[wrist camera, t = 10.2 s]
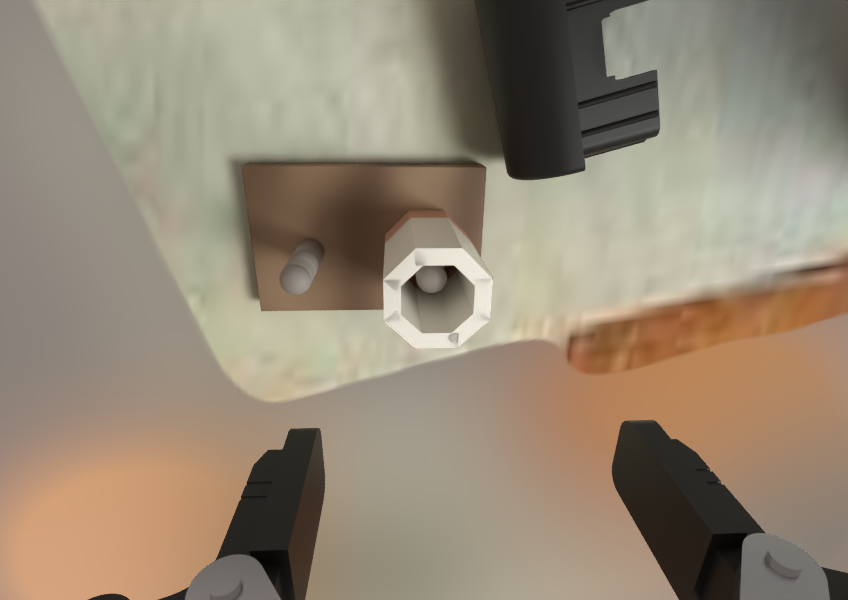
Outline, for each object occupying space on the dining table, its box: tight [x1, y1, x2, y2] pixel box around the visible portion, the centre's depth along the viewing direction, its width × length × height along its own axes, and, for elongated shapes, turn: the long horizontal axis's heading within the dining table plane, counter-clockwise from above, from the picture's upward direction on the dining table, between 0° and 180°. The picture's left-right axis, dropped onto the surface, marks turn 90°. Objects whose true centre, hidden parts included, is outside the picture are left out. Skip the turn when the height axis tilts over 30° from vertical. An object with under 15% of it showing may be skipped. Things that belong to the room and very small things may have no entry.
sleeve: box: [383, 210, 493, 348], centre depth 25 cm, size 5×5×8 cm
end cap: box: [475, 0, 660, 180], centre depth 23 cm, size 10×7×7 cm
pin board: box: [242, 163, 486, 311], centre depth 26 cm, size 14×9×7 cm, turn 89°
